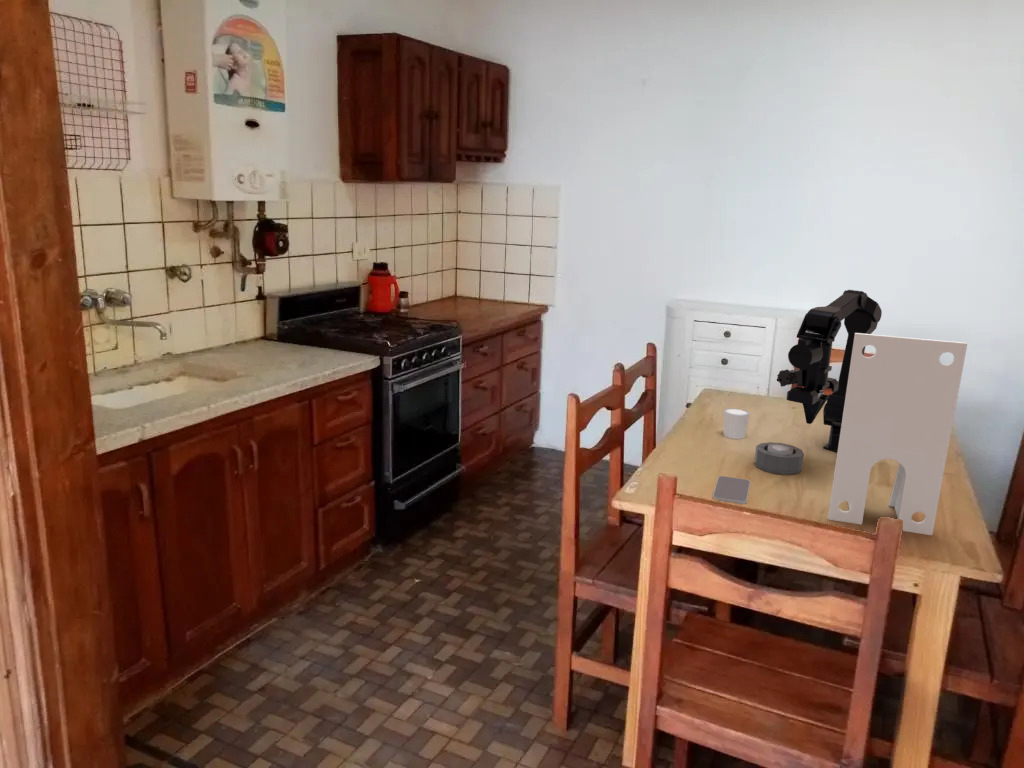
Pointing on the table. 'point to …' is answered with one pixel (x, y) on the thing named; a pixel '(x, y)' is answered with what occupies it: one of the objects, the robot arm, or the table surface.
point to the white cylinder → (735, 423)
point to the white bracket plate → (897, 425)
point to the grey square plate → (732, 489)
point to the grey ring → (778, 460)
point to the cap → (780, 449)
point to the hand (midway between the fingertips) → (809, 423)
